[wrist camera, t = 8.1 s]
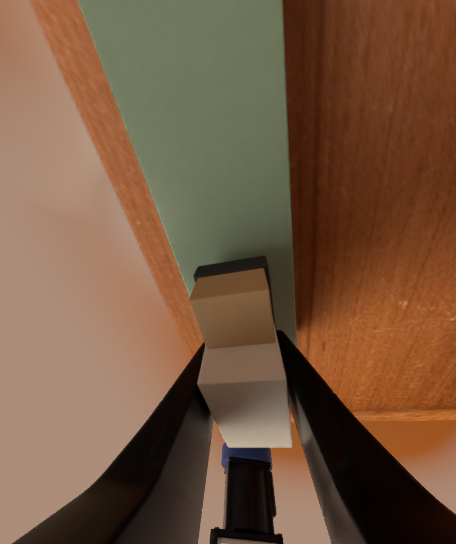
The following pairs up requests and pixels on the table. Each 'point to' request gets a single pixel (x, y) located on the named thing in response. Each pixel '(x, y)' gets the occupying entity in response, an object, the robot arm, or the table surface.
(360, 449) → the robot arm
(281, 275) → the green piece
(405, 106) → the table surface
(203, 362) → the beige block
